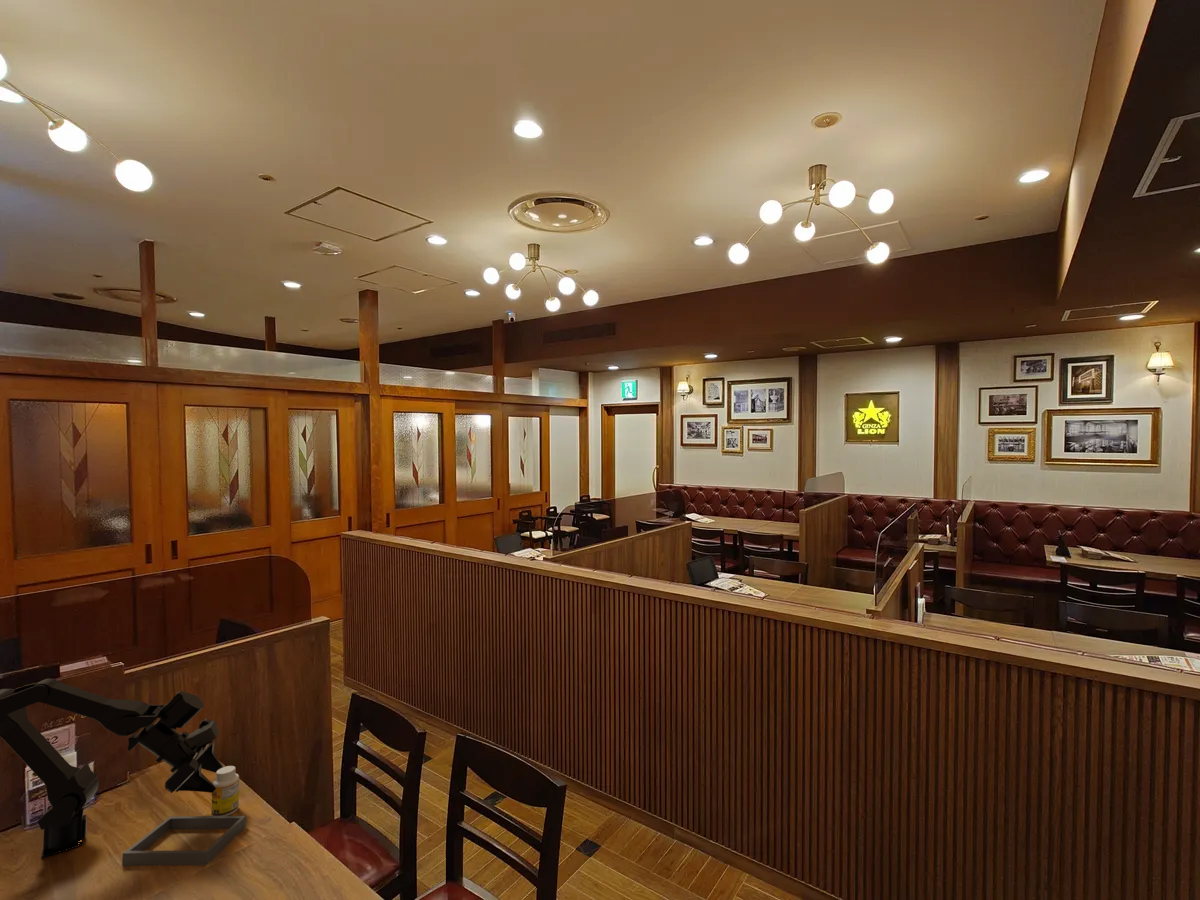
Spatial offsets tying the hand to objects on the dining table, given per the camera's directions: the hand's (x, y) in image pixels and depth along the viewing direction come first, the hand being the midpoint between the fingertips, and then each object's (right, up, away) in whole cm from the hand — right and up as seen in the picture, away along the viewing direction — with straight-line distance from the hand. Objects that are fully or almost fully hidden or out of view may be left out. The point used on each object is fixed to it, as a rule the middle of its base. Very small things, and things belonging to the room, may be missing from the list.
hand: (219, 781), depth 136 cm
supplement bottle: (+1, -8, 0) cm, 8 cm away
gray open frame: (+1, -7, -12) cm, 14 cm away
